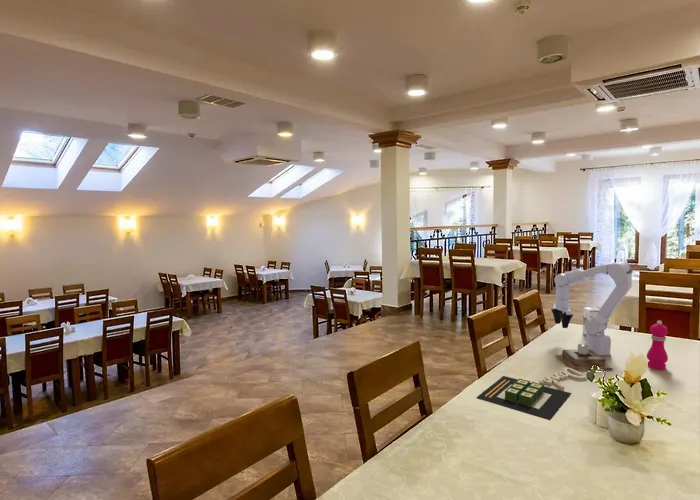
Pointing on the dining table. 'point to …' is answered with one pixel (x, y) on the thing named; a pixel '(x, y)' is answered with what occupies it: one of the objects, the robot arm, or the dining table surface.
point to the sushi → (525, 396)
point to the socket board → (582, 360)
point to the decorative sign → (563, 377)
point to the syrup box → (588, 315)
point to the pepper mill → (658, 347)
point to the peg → (582, 350)
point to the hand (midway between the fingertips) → (561, 325)
